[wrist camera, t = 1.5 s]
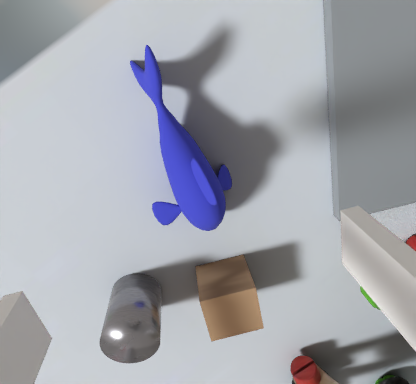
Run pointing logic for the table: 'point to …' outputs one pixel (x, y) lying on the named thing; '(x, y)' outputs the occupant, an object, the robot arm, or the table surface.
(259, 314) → the walnut block
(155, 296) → the dark metal cylinder
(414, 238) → the toy construction set
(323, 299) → the table surface
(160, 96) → the fish toy
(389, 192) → the slate plate
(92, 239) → the table surface
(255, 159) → the table surface
